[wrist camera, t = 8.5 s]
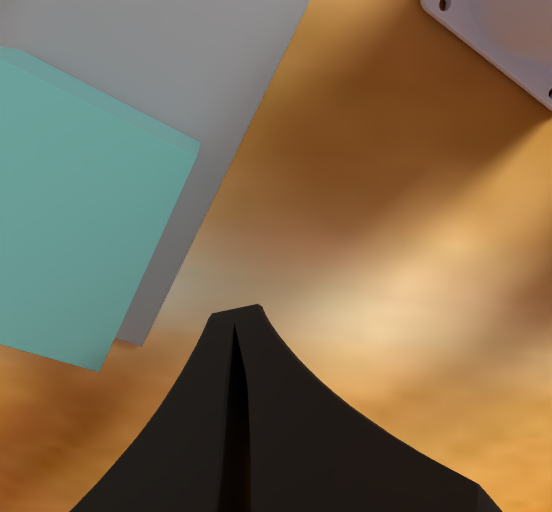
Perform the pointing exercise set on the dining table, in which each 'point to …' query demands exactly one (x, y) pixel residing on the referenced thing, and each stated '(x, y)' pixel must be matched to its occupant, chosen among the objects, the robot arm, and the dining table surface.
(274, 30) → the base plate
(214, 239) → the dining table surface
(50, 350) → the housing
